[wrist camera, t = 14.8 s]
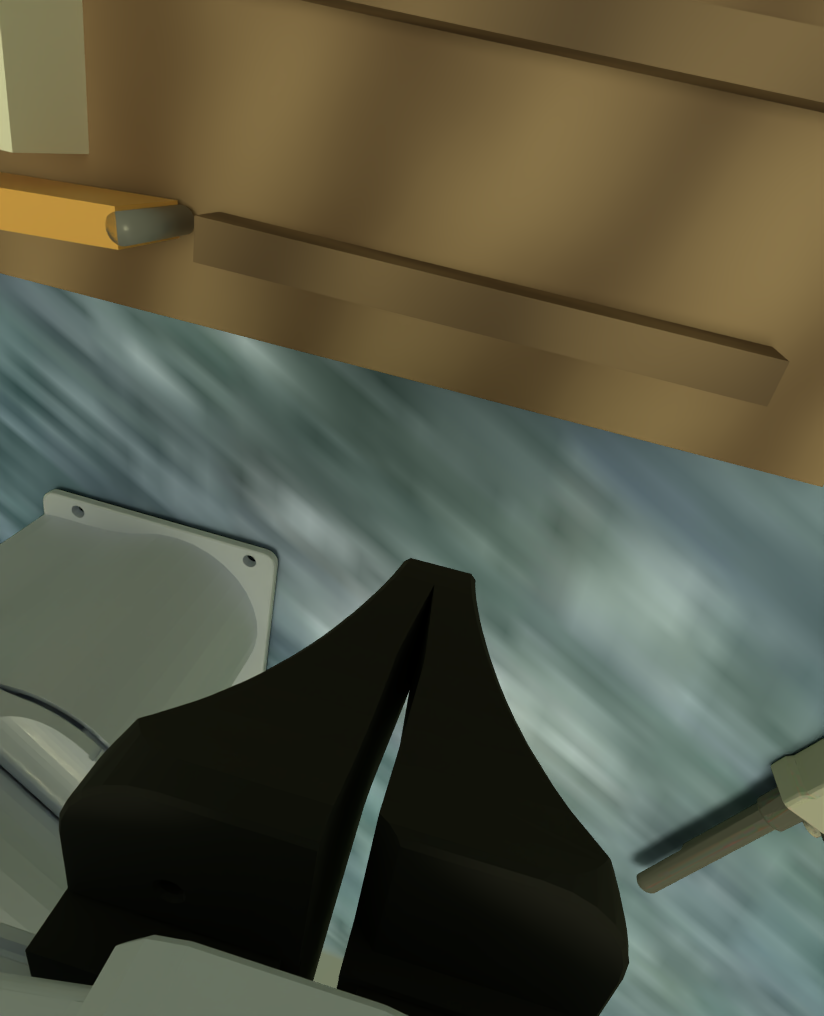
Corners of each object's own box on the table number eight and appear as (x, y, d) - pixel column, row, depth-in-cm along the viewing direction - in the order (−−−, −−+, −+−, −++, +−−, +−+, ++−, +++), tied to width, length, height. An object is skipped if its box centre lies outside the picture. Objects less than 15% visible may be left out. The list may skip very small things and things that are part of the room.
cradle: (-90, 241, 22) (-155, 249, 20) (-181, -273, 16) (-287, -335, 14) (812, 475, 20) (841, 510, 18) (1098, -28, 14) (1191, -60, 12)
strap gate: (195, 240, 19) (136, 252, 16) (2, 208, 20) (-84, 215, 17) (194, 203, 18) (133, 209, 16) (-4, 171, 19) (-94, 172, 16)
